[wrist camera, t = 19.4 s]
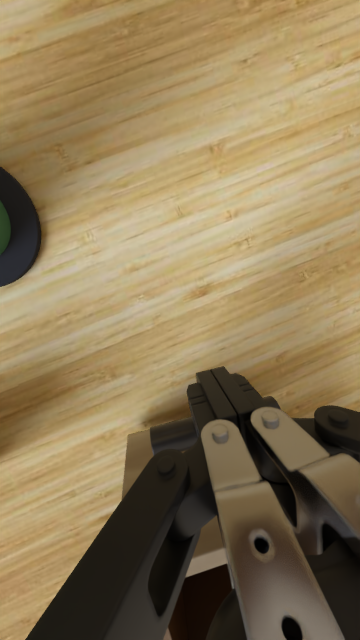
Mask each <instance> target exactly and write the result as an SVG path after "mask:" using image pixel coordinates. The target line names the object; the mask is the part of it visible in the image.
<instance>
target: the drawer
mask: <svg viewBox="0 0 360 640" xmlns="http://www.w3.org/2000/svg"><path fill="white" fill-rule="evenodd" d="M263 399H264V400H265V401H266V403H267V404H268V405H269V406H270V407H273V408H277V409H280V407H279V405H278V403H277V401H276V400H275V399H274V398H273V397H272V396H268V397H264V398H263ZM280 410H281V409H280ZM197 439H198V436H197V433H196V430H195V426H194V423H193V420H192V417H188V418H184V419H180V420H177V421H173V422H169V423H165V424H161V425H158V426H154V427H151V428H150V429H148V430H144V431H140V432H137V433H133V434H129V435H128V439H127V450H126V460H125V470H124V480H123V491H122V499H123V498H124V496H125V495H126V494H127V492H128V491H129V489H130V488H131V486H132V485H133V484H134V482H135V481H136V479H137V478H138V476H139V475H140V473H141V472H142V471H143V469H144V468H145V466H146V465H147V463H148V462H149V460H150V459H151V458H152V457H153V456H154V455H155V454H157V453H158V452H160V451H162V450H166V449H176V450H178V451H180V452H182V453H184V452H185V451H187V450H188V449H190V448H191V447H192V446H193V445H194V444H195V443H196V441H197ZM231 591H232V586H231V582H230V577H229V572H228V567H227V562H226V557H225V552H224V548H223V543H222V538H221V534H220V529H219V524H218V520H217V515H216V516H215V517H214V518H213V519H212V520H210V521H209V522H208V523H207V524H206V525H204V526H203V527H202V528H201V533H200V537H199V540H198V542H197V545H196V548H195V551H194V554H193V557H192V559H191V562H190V565H189V568H188V571H187V574H186V576H185V579H184V582H183V585H182V588H181V591H180V593H179V596H178V599H177V602H176V605H175V608H174V610H173V613H172V616H171V619H170V622H169V625H168V627H167V630H166V633H165V636H164V639H163V640H206V637H207V634H208V631H209V628H210V625H211V623H212V621H213V618H214V616H215V614H216V612H217V610H218V609H219V607H220V605H221V604H222V602H223V600H224V599H225V598H226V597H227V595H228V594H229V593H230V592H231Z"/></svg>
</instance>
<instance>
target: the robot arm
mask: <svg viewBox="0 0 360 640" xmlns="http://www.w3.org/2000/svg"><path fill="white" fill-rule="evenodd" d="M196 380H197V383H195V384H191V385H189V386H188V389H187V396H188V401H189V406H190V411H191V416H192V420H193V423H194V426H195V430H196V433H197V436H198V439H197V441H196V443H195V444H194V445H193V446H192V447H191V448H190V449H188V450H187V451H185V452H184V453H182V452H180V451H178V450H176V449H166V450H162V451H160V452H158V453H157V454H155V455H154V456H153V457H152V458H151V459H150V460H149V462H148V463H147V465H146V466H145V468H144V469H143V471H142V472H141V473H140V475H139V476H138V478H137V479H136V481H135V482H134V484H133V485H132V486H131V488H130V489H129V491H128V492H127V494H126V495H125V496H124V498H123V499H122V501H121V502H120V504H119V505H118V507H117V508H116V509H115V511H114V512H113V514H112V515H111V517H110V518H109V520H108V521H107V522H106V524H105V525H104V527H103V528H102V530H101V531H100V533H99V534H98V535H97V537H96V538H95V540H94V541H93V543H92V544H91V546H90V547H89V548H88V550H87V551H86V553H85V554H84V556H83V557H82V559H81V560H80V561H79V563H78V564H77V566H76V567H75V569H74V570H73V572H72V573H71V574H70V576H69V577H68V579H67V580H66V582H65V583H64V585H63V586H62V587H61V589H60V590H59V592H58V593H57V595H56V596H55V598H54V599H53V600H52V602H51V603H50V605H49V606H48V608H47V609H46V610H45V612H44V613H43V615H42V616H41V618H40V619H39V621H38V622H37V623H36V625H35V626H34V628H33V629H32V631H31V632H30V634H29V635H28V636H27V638H26V639H25V640H163V639H164V636H165V633H166V630H167V627H168V625H169V622H170V619H171V616H172V613H173V610H174V608H175V605H176V602H177V599H178V596H179V593H180V591H181V588H182V585H183V582H184V579H185V576H186V574H187V571H188V568H189V565H190V562H191V559H192V557H193V554H194V551H195V548H196V545H197V542H198V540H199V537H200V533H201V528H202V527H203V526H204V525H206V524H207V523H208V522H209V521H210V520H212V519H213V518H214V517H215V516H216V515H217V520H218V524H219V529H220V534H221V538H222V543H223V548H224V552H225V557H226V562H227V567H228V572H229V577H230V582H231V586H232V591H231V592H230V593H229V594H228V595H227V597H226V598H225V599H224V600H223V602H222V604H221V605H220V607H219V609H218V610H217V612H216V614H215V616H214V618H213V621H212V623H211V625H210V628H209V631H208V634H207V637H206V640H360V412H357V411H353V410H349V409H346V408H342V407H338V406H322V407H320V408H318V409H317V410H316V411H315V413H314V418H291V417H289V416H288V415H287V414H286V413H285V412H284V411H282V410H280V409H277V408H273V407H270V406H269V405H268V404H267V403H266V401H265V400H264V399H263V398H262V397H261V396H260V395H259V393H258V392H257V391H256V390H255V389H254V388H253V387H252V385H251V384H249V382H248V381H247V380H246V379H245V377H243V376H241V375H239V374H237V373H234V374H229V372H228V371H227V370H226V368H225V367H224V366H222V367H218V368H214V369H210V370H206V371H202V372H198V373H196Z"/></svg>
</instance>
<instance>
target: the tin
mask: <svg viewBox="0 0 360 640" xmlns="http://www.w3.org/2000/svg"><path fill="white" fill-rule="evenodd" d="M10 235H11V225H10V220H9V216H8V214H7V211H6V209H5V207H4V206H3V204H2V203H1V201H0V255H1V254H2V253H3V252H4V250H5V249H6V247H7V245H8V243H9V240H10Z"/></svg>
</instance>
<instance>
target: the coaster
mask: <svg viewBox="0 0 360 640" xmlns="http://www.w3.org/2000/svg"><path fill="white" fill-rule="evenodd" d="M0 201H1V203H2V204H3V206H4V207H5V209H6V211H7V214H8V216H9V220H10V225H11V235H10V240H9V243H8V245H7V247H6V249H5V250H4V252H3V253H2V254H1V255H0V287H1V286H5V285H8V284H10V283H12V282H14V281H16V280H18V279H19V278H21V277H22V276H23V275H24V274H25V273H26V272H27V271H28V270H29V269H30V268H31V266H32V265H33V263H34V262H35V260H36V258H37V255H38V252H39V249H40V243H41V229H40V222H39V218H38V215H37V212H36V209H35V207H34V205H33V203H32V201H31V199H30V197H29V196H28V194H27V193H26V191H25V190H24V188H23V187H22V186H21V185H20V184H19V183H18V181H17V180H16V179H15V178H13V177H12V176H11V175H10V174H9V173H8V172H7V171H5V170H4V169H3V168H1V167H0Z"/></svg>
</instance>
